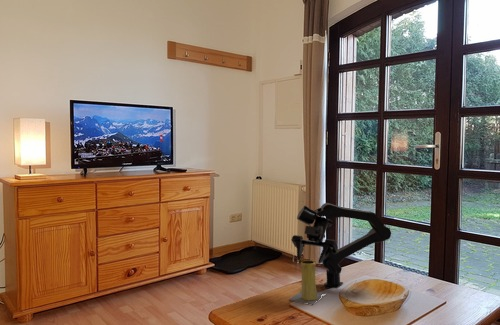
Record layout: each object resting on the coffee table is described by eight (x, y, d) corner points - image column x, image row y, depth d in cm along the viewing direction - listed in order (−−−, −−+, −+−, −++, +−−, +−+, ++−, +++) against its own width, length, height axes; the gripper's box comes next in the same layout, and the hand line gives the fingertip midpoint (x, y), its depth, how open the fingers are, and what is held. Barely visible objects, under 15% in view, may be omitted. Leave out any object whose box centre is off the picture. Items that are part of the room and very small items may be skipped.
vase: (314, 301, 151) (313, 264, 151) (299, 299, 154) (297, 263, 154) (319, 296, 157) (317, 260, 156) (304, 294, 159) (303, 259, 159)
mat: (304, 290, 166) (304, 289, 166) (326, 294, 160) (326, 293, 160) (289, 300, 155) (289, 299, 155) (312, 305, 149) (312, 303, 149)
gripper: (293, 216, 169) (281, 247, 160) (335, 220, 160) (325, 253, 150) (300, 231, 176) (289, 262, 167) (341, 236, 166) (332, 268, 157)
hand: (308, 261), depth 160 cm, fingers open, 9 cm apart
